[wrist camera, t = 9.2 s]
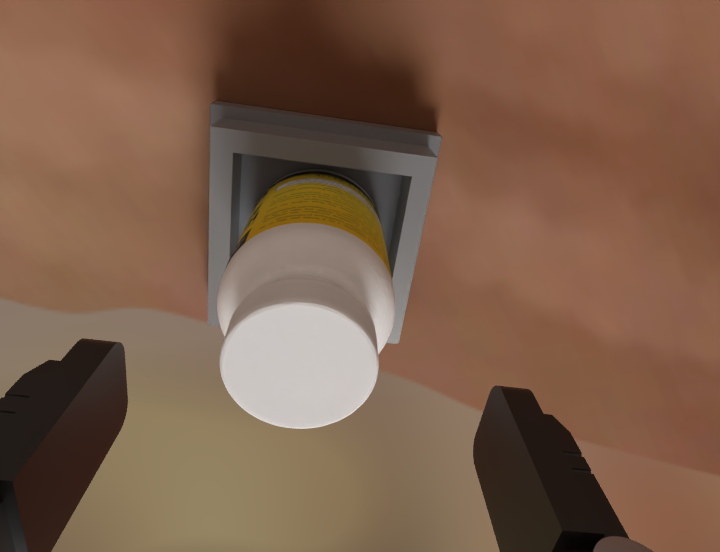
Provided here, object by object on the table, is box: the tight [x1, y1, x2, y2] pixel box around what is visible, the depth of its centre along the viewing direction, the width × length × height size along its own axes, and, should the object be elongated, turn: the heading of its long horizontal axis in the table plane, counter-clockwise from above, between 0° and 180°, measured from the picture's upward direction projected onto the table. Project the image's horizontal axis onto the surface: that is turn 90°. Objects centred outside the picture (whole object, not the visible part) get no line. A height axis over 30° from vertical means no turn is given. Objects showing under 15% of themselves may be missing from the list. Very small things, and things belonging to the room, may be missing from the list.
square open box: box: [208, 101, 442, 344], centre depth 21 cm, size 9×9×3 cm
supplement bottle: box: [217, 169, 395, 429], centre depth 17 cm, size 5×5×10 cm
